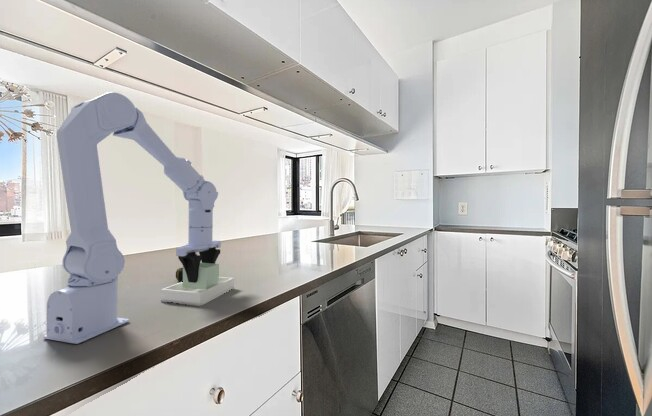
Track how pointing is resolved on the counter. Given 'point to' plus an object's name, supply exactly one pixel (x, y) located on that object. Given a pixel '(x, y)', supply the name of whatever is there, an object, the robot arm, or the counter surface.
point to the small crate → (203, 277)
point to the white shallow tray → (196, 293)
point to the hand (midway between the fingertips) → (200, 279)
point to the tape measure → (179, 274)
